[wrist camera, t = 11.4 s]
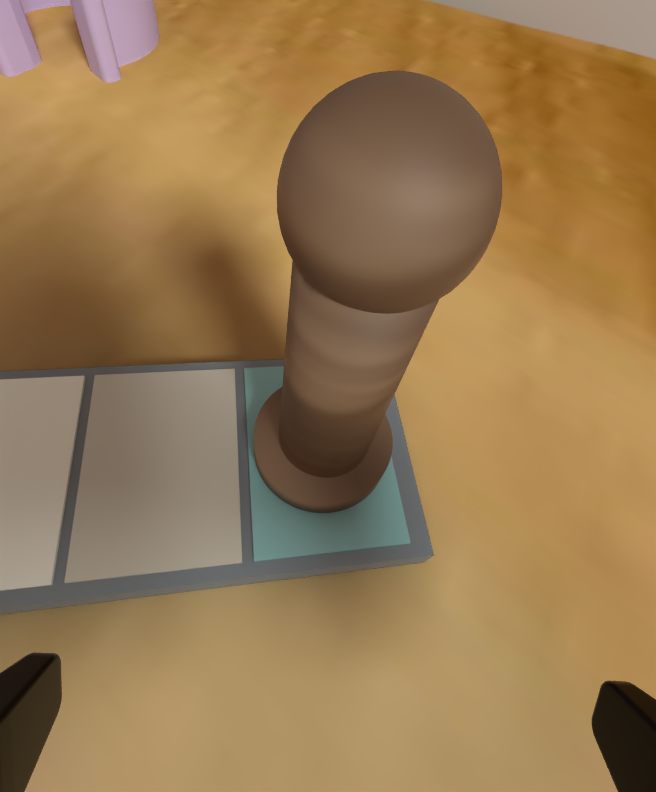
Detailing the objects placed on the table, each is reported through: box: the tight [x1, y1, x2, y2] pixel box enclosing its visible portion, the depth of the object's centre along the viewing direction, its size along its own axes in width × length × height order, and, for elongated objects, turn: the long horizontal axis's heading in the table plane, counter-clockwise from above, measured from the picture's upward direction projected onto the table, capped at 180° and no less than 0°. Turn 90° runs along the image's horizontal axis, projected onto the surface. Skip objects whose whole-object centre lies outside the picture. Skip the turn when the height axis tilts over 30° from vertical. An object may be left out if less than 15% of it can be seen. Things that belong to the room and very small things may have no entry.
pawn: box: [254, 71, 502, 513], centre depth 13 cm, size 5×5×13 cm
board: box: [0, 359, 434, 614], centre depth 18 cm, size 19×9×1 cm, turn 98°
